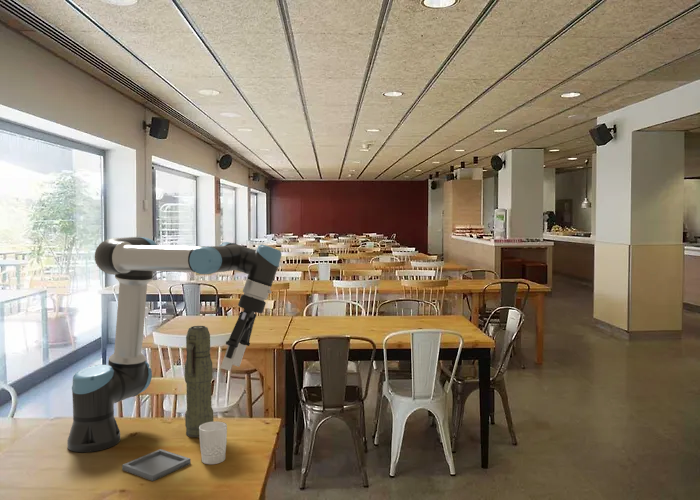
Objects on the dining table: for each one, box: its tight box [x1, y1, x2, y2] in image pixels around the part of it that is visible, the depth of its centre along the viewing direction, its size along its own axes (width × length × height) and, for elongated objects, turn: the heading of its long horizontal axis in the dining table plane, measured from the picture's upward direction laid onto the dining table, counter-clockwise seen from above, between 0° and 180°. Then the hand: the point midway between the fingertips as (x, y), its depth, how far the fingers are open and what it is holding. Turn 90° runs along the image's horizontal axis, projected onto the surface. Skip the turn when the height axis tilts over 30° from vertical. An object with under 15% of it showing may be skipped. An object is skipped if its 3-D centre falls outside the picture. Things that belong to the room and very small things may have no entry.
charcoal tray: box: [121, 448, 192, 482], centre depth 159 cm, size 13×13×2 cm
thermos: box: [184, 325, 214, 438], centre depth 185 cm, size 9×12×35 cm
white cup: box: [199, 420, 228, 465], centre depth 164 cm, size 8×8×10 cm
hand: (230, 367), depth 163 cm, fingers open, 13 cm apart
